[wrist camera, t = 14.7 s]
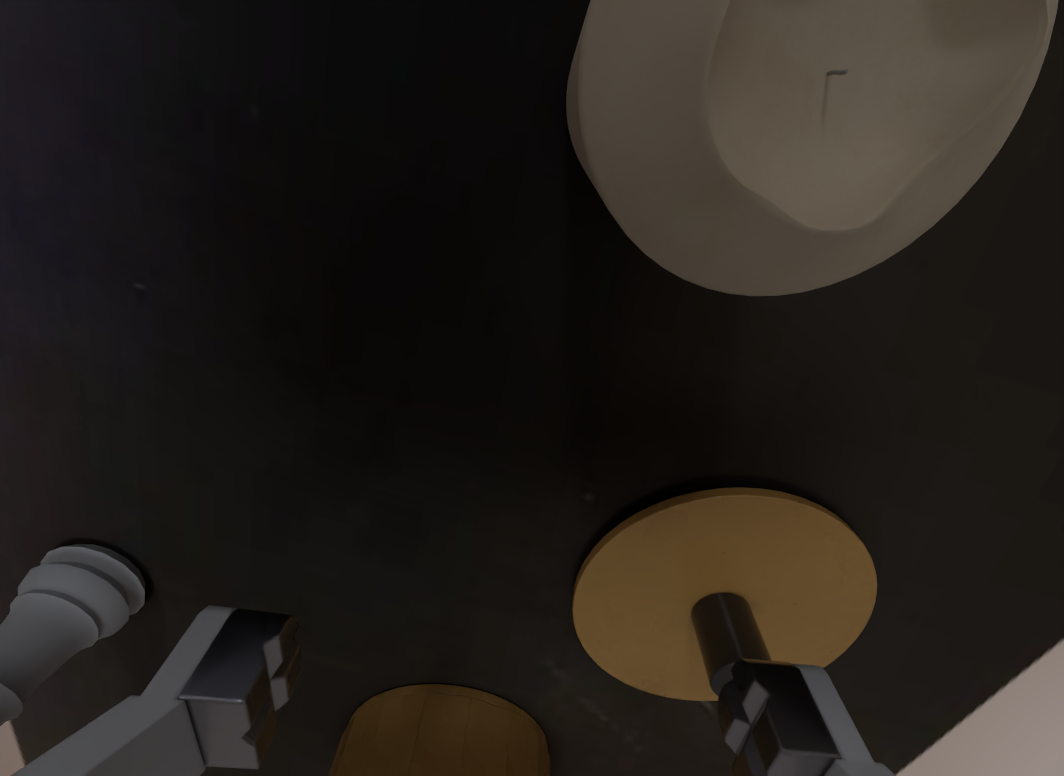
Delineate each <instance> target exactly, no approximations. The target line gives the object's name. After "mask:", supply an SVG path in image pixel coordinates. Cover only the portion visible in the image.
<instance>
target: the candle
mask: <svg viewBox="0 0 1064 776" xmlns="http://www.w3.org/2000/svg"><path fill="white" fill-rule="evenodd" d="M1057 7H1058V0H591V1H590V4H589V7H588V10H587V14H586V17H585V20H584V24H583V27H582V30H581V34H580V37H579V41H578V44H577V47H576V51H575V54H574V57H573V61H572V65H571V69H570V73H569V78H568V85H567V95H566V113H567V122H568V129H569V133H570V137H571V141H572V145H573V147H574V150H575V152H576V155H577V157H578V159H579V161H580V163H581V165H582V167H583V169H584V170H585V172H586V174H587V175H588V177H589V179H590V180H591V182H592V184H593V185H594V187H595V188H596V190H597V192H598V193H599V195H600V197H601V198H602V200H603V202H604V203H605V205H606V206H607V208H608V210H609V211H610V213H611V214H612V216H613V217H614V218H615V220H616V221H617V223H618V224H619V225H620V227H621V228H622V229H623V231H624V232H625V234H626V235H627V236H628V237H629V238H630V239H631V240H632V241H633V242H634V243H635V244H636V245H637V246H638V247H639V248H640V249H641V251H642V252H643V253H645V254H646V255H647V256H648V257H650V258H651V259H652V260H654V261H655V262H656V263H658V264H659V265H660V266H661V267H663V268H664V269H666V270H668V271H670V272H671V273H673V274H675V275H677V276H679V277H680V278H682V279H684V280H686V281H689V282H692V283H694V284H697V285H699V286H702V287H704V288H708V289H712V290H716V291H720V292H724V293H728V294H737V295H747V296H779V295H786V294H793V293H799V292H805V291H809V290H813V289H817V288H821V287H824V286H828V285H831V284H834V283H837V282H839V281H842V280H844V279H847V278H850V277H852V276H855V275H857V274H859V273H861V272H863V271H865V270H867V269H869V268H871V267H873V266H875V265H877V264H879V263H881V262H883V261H884V260H886V259H887V258H889V257H891V256H892V255H894V254H895V253H897V252H898V251H900V250H902V249H903V248H905V247H906V246H908V245H909V244H910V243H912V242H913V241H914V240H916V239H917V238H918V237H919V236H921V235H922V234H923V233H925V232H926V231H927V230H928V229H930V228H931V227H932V226H933V225H935V224H936V223H937V222H938V221H939V220H940V219H941V218H942V217H943V216H944V215H945V214H946V213H947V212H948V211H949V210H950V209H951V208H953V207H954V206H955V205H956V204H957V203H958V202H959V200H960V199H961V198H962V197H963V196H964V195H965V194H966V193H967V191H968V190H969V189H970V188H971V187H972V186H973V185H974V183H975V182H976V181H977V180H978V179H979V178H980V176H981V175H982V174H983V172H984V171H985V170H986V168H987V167H988V166H989V164H990V163H991V161H992V160H993V159H994V157H995V156H996V155H997V153H998V152H999V150H1000V149H1001V147H1002V146H1003V144H1004V142H1005V141H1006V139H1007V137H1008V136H1009V134H1010V132H1011V131H1012V129H1013V127H1014V126H1015V124H1016V122H1017V121H1018V119H1019V117H1020V115H1021V113H1022V111H1023V109H1024V107H1025V105H1026V102H1027V100H1028V98H1029V96H1030V94H1031V92H1032V90H1033V88H1034V86H1035V83H1036V80H1037V78H1038V75H1039V72H1040V69H1041V66H1042V64H1043V61H1044V58H1045V55H1046V52H1047V50H1048V46H1049V42H1050V38H1051V34H1052V30H1053V25H1054V21H1055V17H1056V13H1057Z"/></svg>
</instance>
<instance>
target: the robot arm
mask: <svg viewBox="0 0 1064 776" xmlns="http://www.w3.org/2000/svg"><path fill="white" fill-rule="evenodd" d="M298 629H299V626H298V620H297V615H288V614H280V613H271V612H263V611H254V610H246V609H239V608H230V607H220V606H210V605H209V606H207V607H206V608H205V609H204V610H203V611H201V612H200V613H199V614H198V615H197V617H196V618H195V619H194V621H193V622H192V624H191V625H190V627H189V628H188V629H187V631H186V632H185V634H184V635H183V636H182V638H181V639H180V641H179V642H178V644H177V645H176V646H175V648H174V649H173V651H172V652H171V654H170V655H169V656H168V658H167V659H166V661H165V662H164V663H163V665H162V666H161V668H160V669H159V671H158V672H157V673H156V675H155V676H154V678H153V679H152V680H151V682H150V683H149V685H148V686H147V688H146V689H145V690H144V692H143V693H142V695H141V696H134V695H131V696H130V697H128V698H127V699H125V700H124V701H122V702H121V703H119V704H118V705H116V706H115V707H113V708H112V709H110V710H109V711H107V712H106V713H104V714H103V715H101V716H100V717H98V718H97V719H95V720H94V721H92V722H91V723H89V724H88V725H86V726H85V727H83V728H82V729H80V730H79V731H77V732H76V733H74V734H73V735H71V736H70V737H68V738H67V739H65V740H64V741H62V742H61V743H59V744H58V745H56V746H55V747H53V748H52V749H50V750H49V751H47V752H46V753H44V754H43V755H41V756H40V757H38V758H37V759H35V760H34V761H32V762H31V763H29V764H28V765H26V766H25V767H23V768H22V769H20V770H19V771H17V772H16V773H14V774H13V775H11V776H199V775H201V774H202V773H203V772H204V771H205V766H211V767H229V768H248V769H259V766H260V764H261V762H262V760H263V757H264V755H265V753H266V751H267V748H268V746H269V744H270V742H271V739H272V737H273V735H274V733H275V730H276V728H277V723H276V717H275V711H276V710H278V709H279V708H280V707H281V706H282V705H284V704H285V703H286V702H287V701H289V698H290V696H291V694H292V691H293V689H294V687H295V684H296V681H297V677H298V673H299V670H300V666H301V657H302V650H301V644H300V643H299V642H298V641H297V640H296V639H295V638H294V637H295V635H296V633H297V631H298ZM731 673H732V676H733V679H732V680H731V681H729V682H727V683H726V684H724V685H723V687H722V689H721V692H720V694H719V698H718V717H719V723H720V728H721V731H722V735H723V738H724V741H725V742H726V743H727V744H728V745H729V747H730V748H731V749H732V750H733V751H734V752H735V753H736V757H735V760H734V763H733V766H732V769H733V772H734V775H735V776H895V775H894V774H893V773H892V772H891V771H890V770H889V769H888V768H887V767H886V766H885V765H884V764H882V763H875V762H874V761H873V759H872V757H871V755H870V753H869V751H868V750H867V748H866V746H865V744H864V742H863V740H862V738H861V736H860V734H859V733H858V731H857V729H856V727H855V725H854V723H853V721H852V719H851V717H850V716H849V714H848V712H847V710H846V708H845V706H844V704H843V702H842V700H841V699H840V697H839V695H838V693H837V691H836V689H835V687H834V685H833V683H832V682H831V680H830V678H829V676H828V674H827V672H826V671H825V670H824V669H823V668H822V667H820V666H816V665H805V664H791V663H790V662H780V661H768V660H756V659H743V658H740V659H738V660H736V661H735V662H734V664H733V666H732V668H731Z"/></svg>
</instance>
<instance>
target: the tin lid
mask: <svg viewBox="0 0 1064 776" xmlns="http://www.w3.org/2000/svg"><path fill="white" fill-rule="evenodd" d="M876 592H877V580H876V571H875V568H874V564H873V561H872V558H871V556H870V554H869V553H868V551H867V549H866V547H865V545H864V544H863V542H862V541H861V540H860V538H859V537H858V536H857V535H856V534H855V532H854V531H853V530H852V529H851V528H850V526H849V525H848V524H846V523H845V522H844V521H843V520H842V519H840V518H839V517H838V516H837V515H836V514H834V513H832V512H831V511H829V510H827V509H826V508H824V507H822V506H821V505H819V504H816V503H814V502H811V501H809V500H807V499H804V498H802V497H799V496H795V495H792V494H788V493H785V492H780V491H774V490H768V489H761V488H743V487H737V488H717V489H711V490H704V491H697V492H693V493H689V494H685V495H681V496H677V497H673V498H671V499H668V500H665V501H662V502H660V503H657V504H654V505H652V506H650V507H648V508H646V509H644V510H642V511H640V512H638V513H636V514H634V515H633V516H631V517H630V518H628V519H626V520H625V521H623V522H622V523H620V524H619V525H618V526H616V527H615V528H614V529H613V530H611V531H610V532H609V533H608V534H606V535H605V536H604V537H603V538H602V539H601V541H600V542H599V543H598V544H597V545H596V546H595V547H594V548H593V549H592V551H591V552H590V554H589V555H588V556H587V558H586V559H585V561H584V563H583V565H582V567H581V569H580V571H579V573H578V575H577V578H576V581H575V585H574V588H573V597H572V611H573V622H574V626H575V629H576V633H577V635H578V637H579V640H580V642H581V644H582V646H583V647H584V649H585V650H586V651H587V653H588V654H589V656H590V657H591V658H592V659H593V660H594V661H595V662H596V663H597V664H598V665H599V666H600V667H601V668H602V669H604V670H605V671H606V672H608V673H609V674H610V675H612V676H613V677H615V678H617V679H618V680H620V681H622V682H623V683H626V684H628V685H630V686H632V687H635V688H637V689H640V690H643V691H646V692H649V693H652V694H655V695H660V696H664V697H668V698H675V699H682V700H695V701H718V698H719V694H720V692H721V689H722V687H723V685H724V684H726V683H727V682H729V681H731V680H732V679H733V676H732V673H731V668H732V666H733V664H734V662H735V661H736V660H738V659H740V658H743V659H756V660H768V661H780V662H790V663H791V664H805V665H816V666H820V667H822V668H824V667H825V666H827V665H828V664H830V663H831V662H833V661H834V660H835V659H836V658H837V657H839V656H840V655H841V654H842V653H843V652H844V651H846V650H847V648H848V647H849V646H850V645H851V644H852V643H853V642H854V641H855V640H856V639H857V637H858V636H859V634H860V633H861V632H862V630H863V629H864V627H865V626H866V624H867V622H868V620H869V618H870V616H871V614H872V610H873V607H874V604H875V601H876Z"/></svg>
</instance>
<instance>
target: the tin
mask: <svg viewBox="0 0 1064 776" xmlns="http://www.w3.org/2000/svg"><path fill="white" fill-rule="evenodd" d="M328 776H550V755H549V753H548V743H547V740H546V737H545V734H544V733H543V731H542V729H541V728H540V726H539V725H538V724H537V723H536V721H535V720H534V719H533V718H532V717H531V716H529V715H528V714H527V713H526V712H525V711H523V710H522V709H520V708H519V707H517V706H516V705H514V704H512V703H510V702H509V701H507V700H505V699H502V698H500V697H498V696H495V695H493V694H490V693H487V692H484V691H480V690H476V689H472V688H468V687H462V686H455V685H445V684H420V685H411V686H405V687H400V688H395V689H392V690H389V691H386V692H383V693H381V694H378V695H376V696H374V697H372V698H371V699H369V700H367V701H366V702H365V703H363V704H362V705H361V706H360V707H359V708H358V709H357V710H356V711H355V712H354V714H353V715H352V717H351V719H350V721H349V723H348V725H347V728H346V730H345V732H344V733H343V735H342V738H341V740H340V743H339V746H338V749H337V752H336V755H335V758H334V761H333V764H332V767H331V769H330V772H329V775H328Z"/></svg>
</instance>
